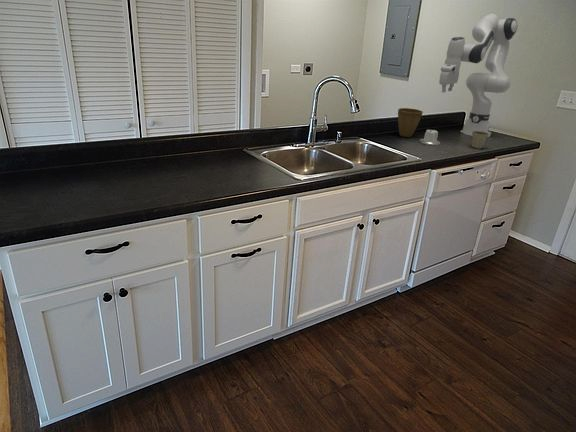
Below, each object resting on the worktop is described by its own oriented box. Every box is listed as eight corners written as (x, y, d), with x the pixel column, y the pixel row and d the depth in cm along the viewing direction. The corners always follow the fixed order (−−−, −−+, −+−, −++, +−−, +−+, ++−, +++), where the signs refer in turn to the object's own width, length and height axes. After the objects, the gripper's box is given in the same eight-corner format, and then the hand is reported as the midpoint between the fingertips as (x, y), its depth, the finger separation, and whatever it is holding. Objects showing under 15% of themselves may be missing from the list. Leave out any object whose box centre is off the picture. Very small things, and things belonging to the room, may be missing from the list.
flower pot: (475, 149, 231) (479, 134, 227) (464, 145, 239) (468, 131, 236) (488, 149, 234) (492, 134, 230) (478, 145, 242) (481, 130, 238)
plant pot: (389, 133, 256) (393, 108, 249) (406, 132, 263) (410, 107, 256) (405, 139, 244) (410, 113, 238) (422, 137, 251) (428, 112, 244)
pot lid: (424, 139, 247) (426, 130, 245) (443, 143, 240) (445, 134, 238) (415, 142, 239) (417, 133, 237) (434, 146, 232) (436, 137, 229)
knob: (427, 139, 243) (429, 128, 240) (437, 141, 239) (439, 130, 237) (422, 140, 239) (424, 129, 236) (432, 143, 235) (435, 131, 232)
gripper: (453, 66, 242) (448, 89, 248) (439, 67, 228) (434, 92, 234) (463, 67, 238) (458, 91, 244) (450, 68, 224) (445, 93, 230)
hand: (446, 91), depth 239 cm, fingers open, 8 cm apart
